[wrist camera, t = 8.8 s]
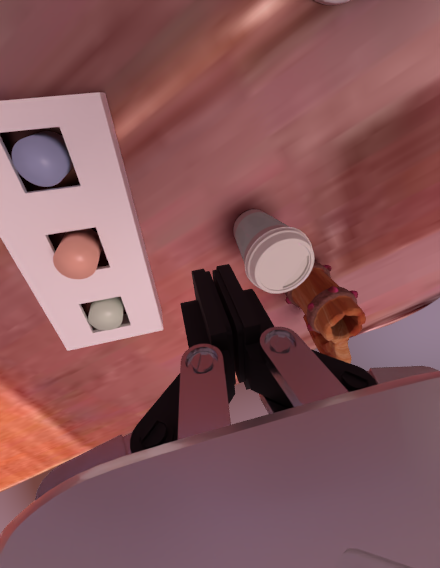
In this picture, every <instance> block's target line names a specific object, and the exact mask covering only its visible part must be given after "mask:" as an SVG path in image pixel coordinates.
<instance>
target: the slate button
mask: <svg viewBox="0 0 440 568" xmlns="http://www.w3.org/2000/svg"><path fill="white" fill-rule="evenodd" d="M12 161H13V164H14V166H15V168H16V170H17V171H18V172H19V174H20V175H21V176H22V177H23V178H25V179H26V180H27V181H29V182H31V183H32V184H35V185H38V186H43V187H50V186H54V185H56V184H58V183H59V182H60V181H61V180H62V179H63V178H64V177H65V176H66V175H67V174H68V173H69V172H70V171H71V170H72V168H73V167H74V166H73V163H72V160H71V157H70V155H69V152H68V149H67V146H66V143H65V141H64V138H63V137H62V136H61V135H59V134H57V133H55V132H51V131H41V132H38V133H36V134H33V135H30V136H28V137H25V138H22V139H20V140H19V141H17V142H16V144H15V145H14V147H13V149H12Z"/></svg>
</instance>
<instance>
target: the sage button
mask: <svg viewBox="0 0 440 568" xmlns="http://www.w3.org/2000/svg"><path fill="white" fill-rule="evenodd" d="M123 309H124V304H123V301H122V299H121V296H119V297H114V298H109V299H104V300H99V301H93V302H92V303H91V307H90V311H89V315H88V320H89V323H90V324H91V325H92V326H93V327H94V328H96V329H99V330H112V329H115V328H117V327H118V326H119V325H120V324H121V323H122V320H123Z"/></svg>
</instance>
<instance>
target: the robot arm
mask: <svg viewBox="0 0 440 568" xmlns="http://www.w3.org/2000/svg"><path fill="white" fill-rule="evenodd" d="M314 1H315V2H318V3H321V4H324V5H339V4H343V3H346V2H348V1H351V0H314ZM192 278H193V284H194V290H195V297H196V300H194V301H189V302H184V303H181V309H182V314H183V319H184V325H185V330H186V335H187V340H188V346H189V349H188V350H187V351H186V352H185V353H184V354H183V356H182V359H181V368H180V374H179V375H178V376H177V377H176V379H175V380H174V381H173V382H172V383H171V385H170V386H169V387H168V388H167V389H166V391H165V392H164V393H163V394H162V395H161V397H160V398H159V399H158V400H157V401H156V403H155V404H154V405H153V406H152V407H151V409H150V410H149V411H148V412H147V413H146V415H145V416H144V417H143V418H142V419H141V421H140V422H139V423H138V424H137V426H136V427H135V429H134V430H133V432H132V433H130V434H128V435H126V436H124V437H123V436H122V435H119V436H117V437H115V438H113V439H111V440H109V441H107V442H105V443H103V444H101V445H99V446H97V447H95V448H93V449H91V450H89V451H87V452H85V453H83V454H81V455H79V456H77V457H75V458H73V459H71V460H69V461H67V462H65V463H63V464H61V465H59V466H58V467H56V468H55V469H53V470H52V471H51V472H50V473H49V474H48V475H47V476H46V477H45V478H44V479H43V481H42V483H41V484H40V486H39V488H38V490H37V493H36V498H35V501H34V502H33V503H32V504H30V505H29V506H28V507H27V508H26V509H25V510H23V511H22V512H21V513H20V514H19V515H18V516H16V517H15V518H14V519H13V520H12V522H10V524H9V525H7V527H6V528H5V529H4V530H3V531H2V533H1V534H0V568H440V371H438V370H436V369H433V368H431V367H425V366H412V367H384V368H370V370H369V371H365V370H364V369H362V368H360V367H358V366H355V365H352V364H350V363H347V362H344V361H341V360H339V359H336V358H333V357H330V356H328V355H325V354H322V353H319V352H317V351H314V350H311V349H310V348H309V347H308V346H307V345H306V343H305V342H304V341H303V340H302V339H301V338H300V337H299V336H298V335H297V334H296V333H295V332H294V331H292V330H290V329H288V328H285V327H274V325H273V324H272V322H271V320H270V318H269V317H268V315H267V313H266V311H265V310H264V308H263V306H262V304H261V303H260V301H259V299H258V297H257V296H256V294H255V292H254V291H253V289H248V290H242V288H241V286H240V284H239V282H238V280H237V278H236V276H235V274H234V272H233V271H232V269H231V267H230V265H229V264H227V265H221V266H217V270H213V279H212V277H211V274H210V272H209V271H207V272H205V270H204V269H200V270H195V271H192ZM213 281H214V282H213ZM235 372H236V375H237V378H238V381H239V383H241V382H244V384H245V387H246V389H251V390H253V391H255V392H257V393H259V397H260V399H261V401H262V403H263V405H264V406H265V408H266V410H267V412H268V413H269V414H268V415H265V416H261V417H258V418H254V419H251V420H247V421H243V422H240V423H236V424H233V425H231V422H230V413H229V403H230V401H231V400H232V398H233V396H234V395H235V388H234V387H235V386H234V384H236V380H235Z"/></svg>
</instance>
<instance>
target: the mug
mask: <svg viewBox="0 0 440 568" xmlns="http://www.w3.org/2000/svg"><path fill="white" fill-rule="evenodd" d="M330 271H331V266H329V265H321V264H320V263H317V262H314V265H313V268H312V270H311V272H310V274H309V276H308V277H307V278H306V279H305V281H304V282H302V283H301V284H300V285H299V286H298V287H296V288H294V289H292V290H290V291H288V292H285V294H286V296H287V297H286V302H287V303H288V304H291V303H292V304H294V305H296V306H298V307H300V308H301V309H302V310H303V312H304V313H305V315H304V317H303V318H304V320H305V322H306V325H307V328H308V330H309V332H310V335H311V337H312V339H313V341H314V343H315V345H316V347H317V348H318V350H319V352H320V353H322V354H325V355H328V356H330V357H333V358H336V359H339V360H341V361H344V362H347V363H351V355H350V351H349V348H348V340H349V337H350V336H356V335H357V334H358V333H359V332H360V331H361V329H362V324H364V323H365V321H366V317H365V314H364V312H363V311H362V310H361V308H360V307H359V306H358V305H357V300H356V298H357V297H358V293H357V291H348V290H347V289H345V288H342V287H339V286H338V285H337V284H336V283H335V282H334V281H333V280H332V279H331V277H330Z"/></svg>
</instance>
